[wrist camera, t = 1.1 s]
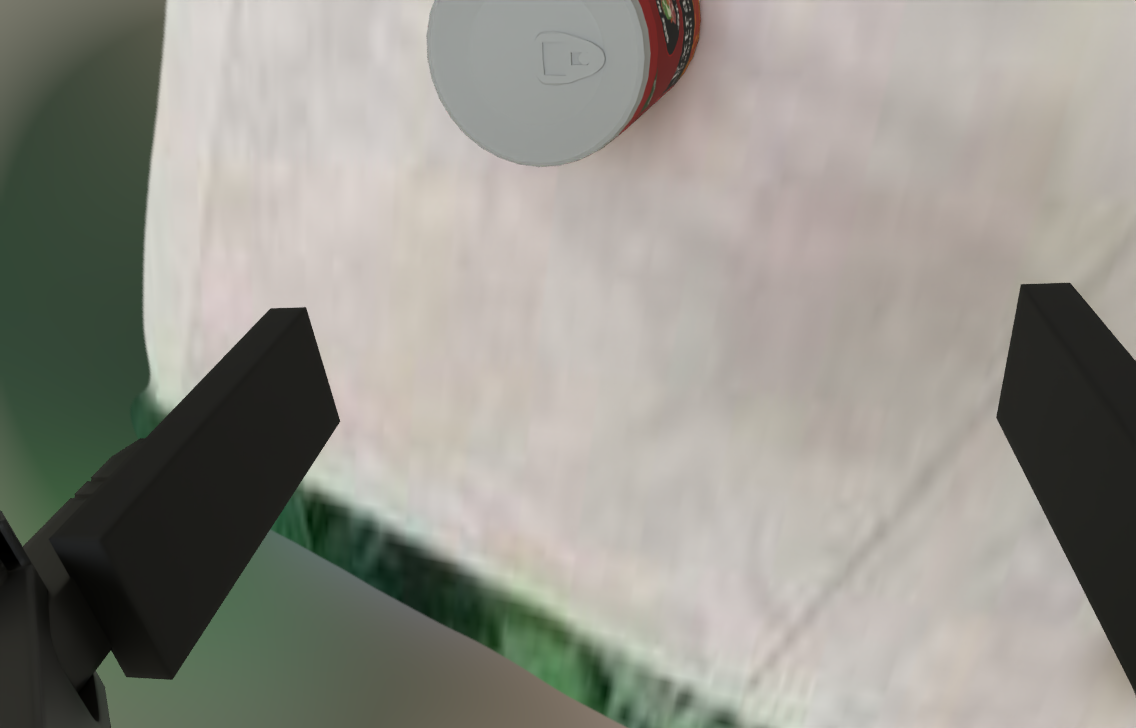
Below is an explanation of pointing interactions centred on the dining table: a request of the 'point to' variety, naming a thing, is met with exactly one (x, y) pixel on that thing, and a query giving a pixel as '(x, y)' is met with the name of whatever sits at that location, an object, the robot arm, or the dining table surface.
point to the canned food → (555, 70)
